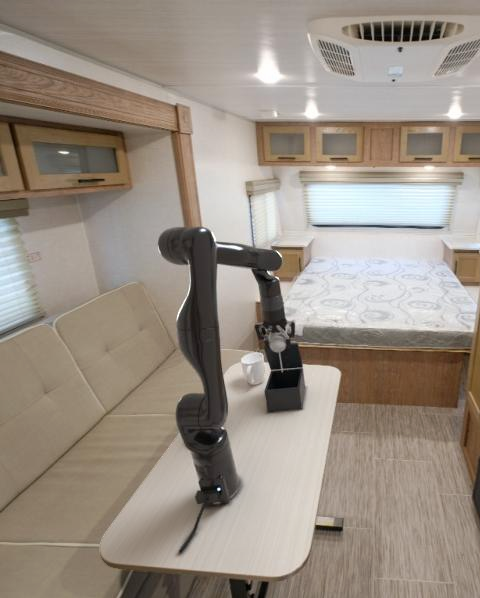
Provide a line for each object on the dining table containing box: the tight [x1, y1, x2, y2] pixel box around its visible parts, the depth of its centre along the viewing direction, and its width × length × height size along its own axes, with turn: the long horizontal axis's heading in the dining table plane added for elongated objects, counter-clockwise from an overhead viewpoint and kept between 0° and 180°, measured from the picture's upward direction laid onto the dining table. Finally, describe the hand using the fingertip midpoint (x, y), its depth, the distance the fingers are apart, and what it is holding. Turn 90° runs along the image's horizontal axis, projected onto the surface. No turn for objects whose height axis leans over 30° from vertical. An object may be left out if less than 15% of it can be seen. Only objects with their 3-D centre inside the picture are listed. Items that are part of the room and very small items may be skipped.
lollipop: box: [269, 335, 286, 372], centre depth 127 cm, size 6×6×15 cm
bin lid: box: [262, 338, 304, 371], centre depth 135 cm, size 14×13×5 cm
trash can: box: [263, 367, 306, 413], centre depth 134 cm, size 14×13×10 cm
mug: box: [240, 351, 266, 386], centre depth 144 cm, size 12×9×12 cm
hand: (278, 347), depth 125 cm, fingers closed on lollipop, 6 cm apart
